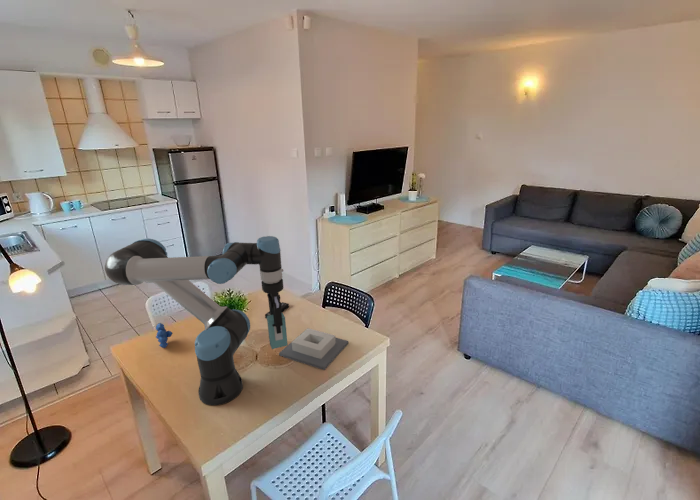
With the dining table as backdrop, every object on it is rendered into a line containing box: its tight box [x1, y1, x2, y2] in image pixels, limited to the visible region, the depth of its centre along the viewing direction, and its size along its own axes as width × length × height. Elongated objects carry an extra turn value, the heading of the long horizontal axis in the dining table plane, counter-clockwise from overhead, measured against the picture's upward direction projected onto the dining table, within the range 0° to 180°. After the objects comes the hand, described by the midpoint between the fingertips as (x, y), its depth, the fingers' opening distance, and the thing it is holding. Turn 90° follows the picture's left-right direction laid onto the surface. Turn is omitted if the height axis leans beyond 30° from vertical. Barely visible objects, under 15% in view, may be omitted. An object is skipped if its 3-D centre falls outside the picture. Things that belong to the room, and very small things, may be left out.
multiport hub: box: [264, 301, 290, 320], centre depth 188 cm, size 4×14×2 cm, turn 153°
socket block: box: [278, 327, 349, 371], centre depth 156 cm, size 20×22×5 cm
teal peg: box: [266, 312, 289, 350], centre depth 138 cm, size 4×6×12 cm, turn 112°
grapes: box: [155, 322, 173, 349], centre depth 160 cm, size 12×7×12 cm, turn 28°
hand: (277, 336), depth 139 cm, fingers closed on teal peg, 4 cm apart
